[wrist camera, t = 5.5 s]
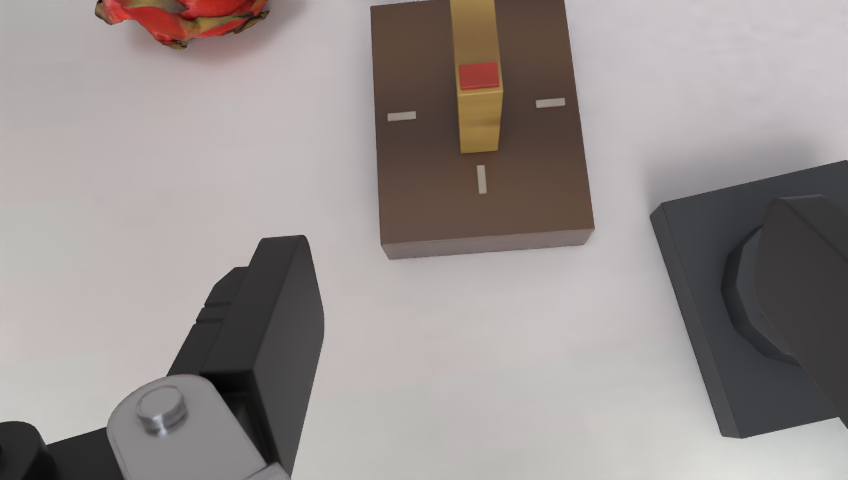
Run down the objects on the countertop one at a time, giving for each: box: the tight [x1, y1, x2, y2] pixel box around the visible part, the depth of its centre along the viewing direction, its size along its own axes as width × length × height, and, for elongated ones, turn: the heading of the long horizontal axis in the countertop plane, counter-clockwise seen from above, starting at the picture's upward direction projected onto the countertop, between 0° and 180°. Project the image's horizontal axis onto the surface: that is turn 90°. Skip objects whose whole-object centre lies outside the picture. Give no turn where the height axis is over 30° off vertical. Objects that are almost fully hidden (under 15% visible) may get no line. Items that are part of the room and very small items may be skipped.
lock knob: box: [450, 0, 503, 154], centre depth 28 cm, size 4×2×6 cm, turn 4°
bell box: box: [650, 160, 848, 439], centre depth 29 cm, size 11×9×4 cm
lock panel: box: [370, 0, 595, 259], centre depth 33 cm, size 13×10×3 cm
